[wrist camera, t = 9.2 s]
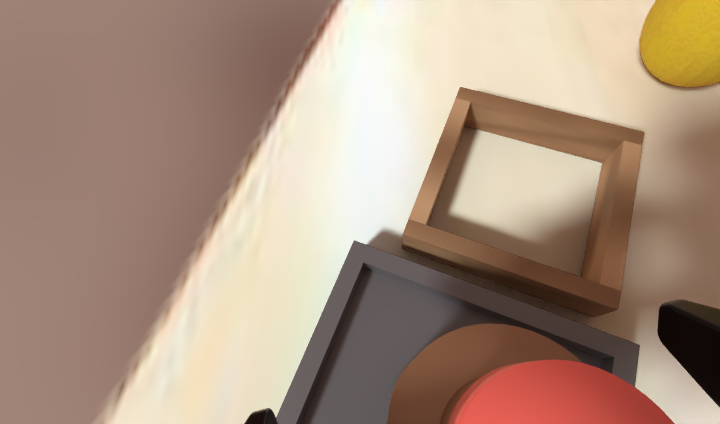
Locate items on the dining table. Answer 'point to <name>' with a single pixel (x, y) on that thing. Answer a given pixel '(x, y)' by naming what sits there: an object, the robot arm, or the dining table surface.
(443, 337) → the bottle
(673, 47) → the lemon
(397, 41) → the dining table surface
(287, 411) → the tray
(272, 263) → the dining table surface
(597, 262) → the stand
